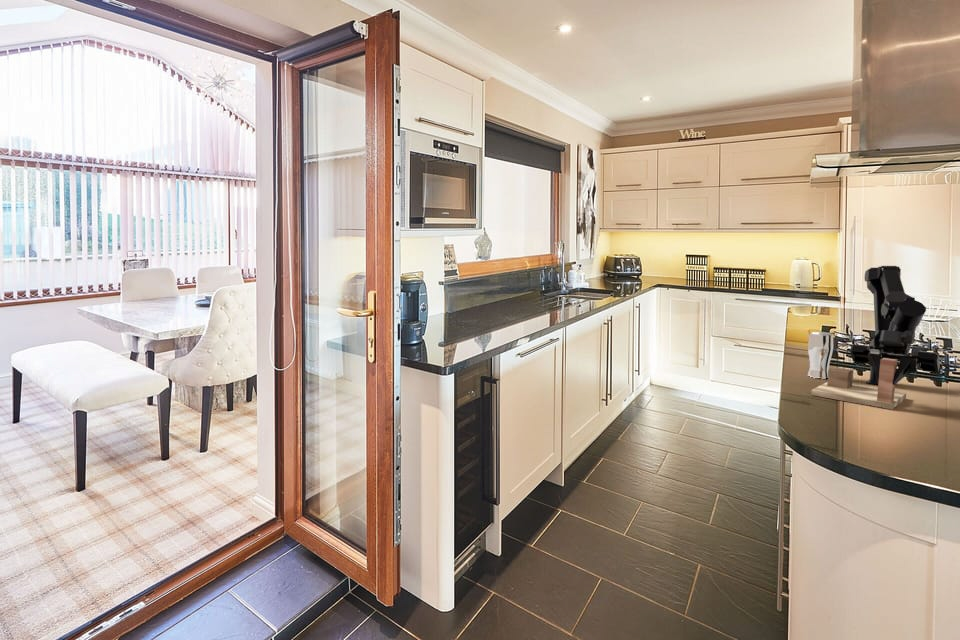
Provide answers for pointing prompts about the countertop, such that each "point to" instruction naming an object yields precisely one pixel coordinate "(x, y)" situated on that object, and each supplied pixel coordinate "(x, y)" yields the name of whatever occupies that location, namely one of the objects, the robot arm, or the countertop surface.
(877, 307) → the robot arm
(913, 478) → the countertop surface
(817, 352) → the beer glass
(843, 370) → the walnut cube
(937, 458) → the countertop surface
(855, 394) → the board with upright post
